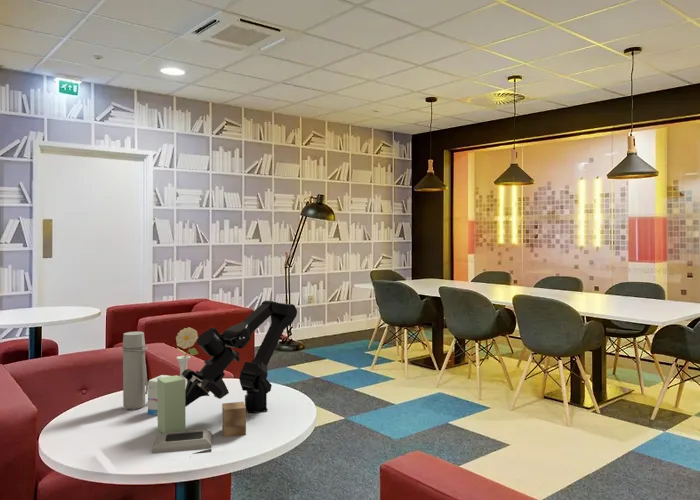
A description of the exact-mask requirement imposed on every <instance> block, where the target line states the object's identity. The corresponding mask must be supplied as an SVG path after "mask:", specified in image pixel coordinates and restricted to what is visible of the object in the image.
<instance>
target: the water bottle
mask: <svg viewBox="0 0 700 500" xmlns="http://www.w3.org/2000/svg"><path fill="white" fill-rule="evenodd" d="M148 348H149V347H148V346H147V345H146V339H145V332H143V331H128V332H124V333H123V337H122V346H121V349H122V389H123V390H122V392H123V393H122V398H123V400H122V405H123V406H122V407H123V408H124V409H126V410H138V409H141V408H143V407H145V406H146V395H148V382H149V381H148V373H147V364H146V363H147V362H146V350H148Z"/></svg>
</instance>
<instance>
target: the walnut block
mask: <svg viewBox="0 0 700 500" xmlns="http://www.w3.org/2000/svg"><path fill="white" fill-rule="evenodd" d="M221 404H222V405H221V406H222V407H221V408H222V410H221V411H222V412H221V414H222V416H221V417H222V420H221V422H222V423H221V426H222V427H221V428H222V429H221V430H222V434H223V437H224V438H228V437H229V438H230V437H239V436H245V435H247V410H246V407H245V402H244V401H236V402H235V401H234V402H223V403H221Z"/></svg>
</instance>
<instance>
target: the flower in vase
mask: <svg viewBox="0 0 700 500" xmlns="http://www.w3.org/2000/svg"><path fill="white" fill-rule="evenodd" d="M198 335H199V334H198V331H197V330H196V329H194V328H193V327H189V326H188V327H187V328H186V327H184V328H183V329H181V330H179V332H178V333H177V335H176V336H175V340H176V346H177V347H176V349H177V350H178V351H180V352H181V353H184V354H185V355H180V356H176V358H175V359H176V360H177V362H178V364H179V376H180V377H182V378H184V379H185V390H186V385H187V379H186V378H185V377H183V376H182V375H181V374H182V373H183V371H184V370H185V369H188V363H189V360H190V359H191V356H195V355H198V354H199V352H198V351H197V350H198V349H196V348H195V347H193V346H194V345H195V343H197V340H198V338H199V336H198ZM178 347H179V348H178ZM191 347H192V348H191ZM180 348H182V349H188V350H187V352H185V351H184V350H181V349H180ZM188 353H189V354H190V355H188Z"/></svg>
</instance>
